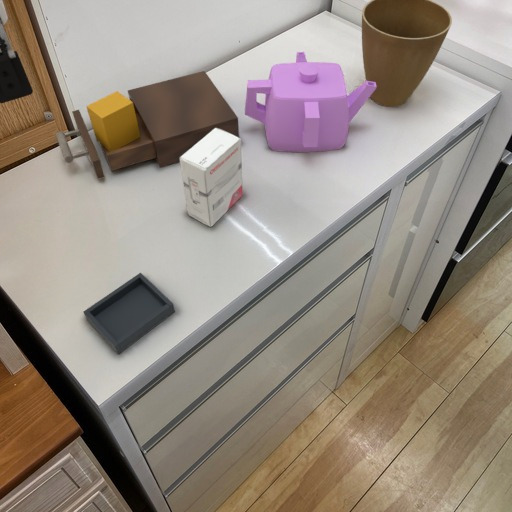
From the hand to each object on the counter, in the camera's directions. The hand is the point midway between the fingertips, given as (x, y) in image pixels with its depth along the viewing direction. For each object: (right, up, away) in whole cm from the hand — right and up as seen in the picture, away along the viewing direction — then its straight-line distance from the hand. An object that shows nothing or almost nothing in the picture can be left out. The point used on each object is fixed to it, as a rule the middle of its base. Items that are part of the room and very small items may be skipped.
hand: (4, 70), depth 51 cm
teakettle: (+33, +5, +45) cm, 56 cm away
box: (+1, +2, +40) cm, 40 cm away
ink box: (+18, -10, +33) cm, 39 cm away
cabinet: (+11, +5, +45) cm, 47 cm away
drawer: (0, +1, +41) cm, 41 cm away
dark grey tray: (+7, -26, +20) cm, 33 cm away
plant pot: (+50, +13, +51) cm, 72 cm away
